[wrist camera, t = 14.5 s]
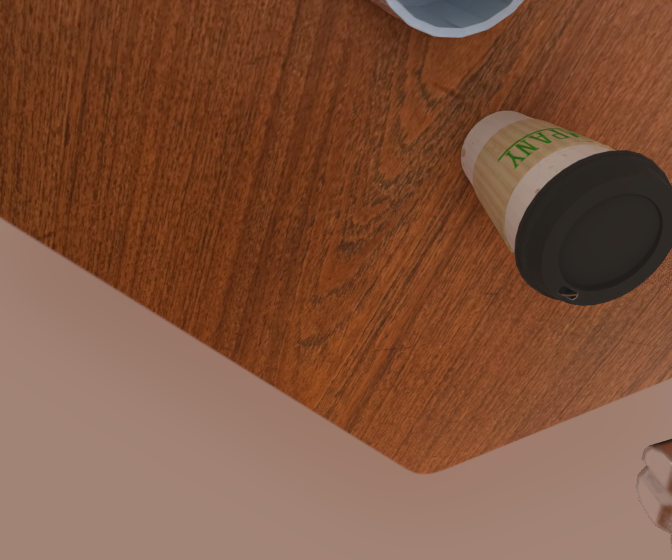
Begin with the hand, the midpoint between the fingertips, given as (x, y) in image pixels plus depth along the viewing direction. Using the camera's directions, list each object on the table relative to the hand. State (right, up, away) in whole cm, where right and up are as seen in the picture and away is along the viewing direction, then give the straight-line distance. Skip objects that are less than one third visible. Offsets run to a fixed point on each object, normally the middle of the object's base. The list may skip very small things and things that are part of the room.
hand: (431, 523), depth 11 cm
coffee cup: (+11, +15, +36) cm, 40 cm away
